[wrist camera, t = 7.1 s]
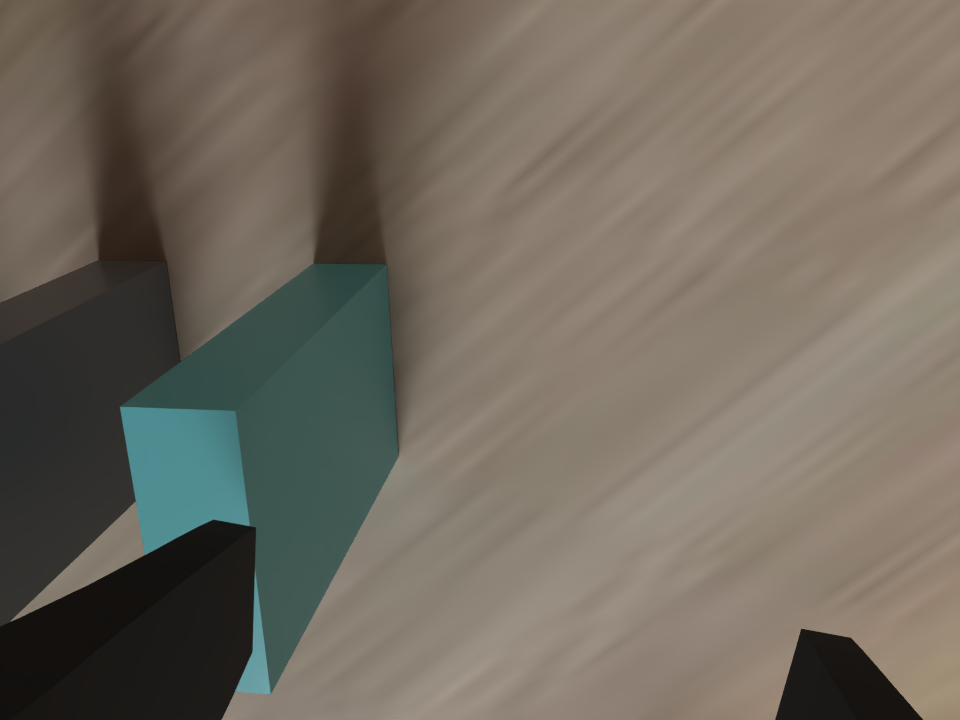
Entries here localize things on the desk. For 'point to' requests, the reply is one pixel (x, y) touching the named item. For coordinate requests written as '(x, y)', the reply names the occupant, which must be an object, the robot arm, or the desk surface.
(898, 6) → the desk surface
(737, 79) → the desk surface
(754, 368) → the desk surface
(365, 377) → the domino
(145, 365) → the domino
